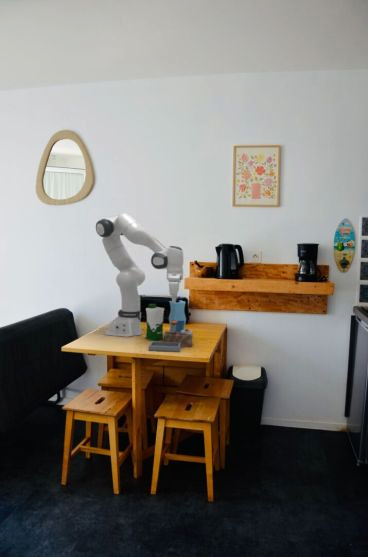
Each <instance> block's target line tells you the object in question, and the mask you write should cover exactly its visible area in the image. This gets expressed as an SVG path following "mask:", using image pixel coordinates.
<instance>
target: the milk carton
mask: <svg viewBox="0 0 368 557" xmlns="http://www.w3.org/2000/svg"><path fill="white" fill-rule="evenodd" d="M145 311H146V312H145V313H146V334H145V340H149V341H157V342H158V341H159V340H160V341H161V340H163V335H164V333H163V332H164V330H163V329H164V328H163V327H164V313H165V312H164V311H165V307H158V306H156V303H149V304H148V307H146V308H145Z"/></svg>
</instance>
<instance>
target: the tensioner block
mask: <svg viewBox="0 0 368 557" xmlns="http://www.w3.org/2000/svg"><path fill="white" fill-rule="evenodd" d="M193 335H194V334H193V330H192V329H188V328H186V329H185V330H181V332H176V334H171V332H170V330H169V331H168V330H167V331H166V330H165V331H164V333H163V339H162V340H163V341H162V342H181V347H182V348H192V347H193Z"/></svg>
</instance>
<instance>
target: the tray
mask: <svg viewBox="0 0 368 557" xmlns="http://www.w3.org/2000/svg"><path fill="white" fill-rule="evenodd" d="M148 351H149V352H163V353H164V352H165V353H168V352H169V353H180V352H181V342H163V341H158V340H157V341H153V340H150V343H149V345H148Z"/></svg>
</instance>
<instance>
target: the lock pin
mask: <svg viewBox="0 0 368 557" xmlns="http://www.w3.org/2000/svg"><path fill="white" fill-rule="evenodd" d="M170 323H171V334H176V323H177V320H170V322H169V324H170Z"/></svg>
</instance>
